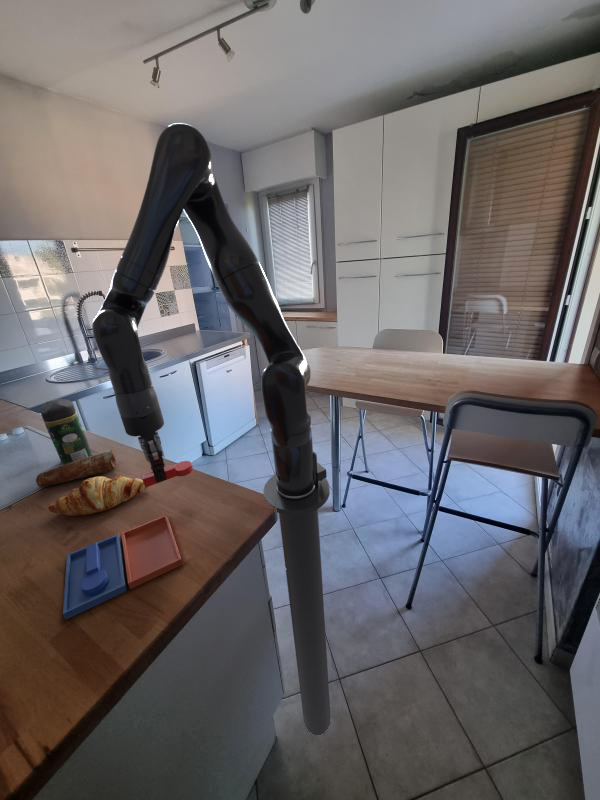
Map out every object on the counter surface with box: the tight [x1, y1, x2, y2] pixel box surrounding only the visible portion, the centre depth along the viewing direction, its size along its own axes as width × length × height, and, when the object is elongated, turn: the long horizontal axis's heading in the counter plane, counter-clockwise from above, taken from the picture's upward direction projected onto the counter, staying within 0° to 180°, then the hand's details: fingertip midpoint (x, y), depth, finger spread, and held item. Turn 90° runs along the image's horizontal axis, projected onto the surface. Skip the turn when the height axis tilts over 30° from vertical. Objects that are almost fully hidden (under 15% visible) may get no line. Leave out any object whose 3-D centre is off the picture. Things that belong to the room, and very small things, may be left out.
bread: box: [35, 449, 117, 488], centre depth 90 cm, size 6×19×6 cm, turn 112°
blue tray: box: [62, 533, 128, 620], centre depth 61 cm, size 9×14×1 cm, turn 31°
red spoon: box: [140, 460, 194, 488], centre depth 75 cm, size 11×4×2 cm, turn 122°
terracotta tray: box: [121, 514, 184, 590], centre depth 65 cm, size 9×14×1 cm, turn 31°
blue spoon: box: [80, 541, 109, 596], centre depth 60 cm, size 11×4×2 cm, turn 31°
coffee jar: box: [40, 397, 93, 465], centre depth 95 cm, size 10×8×19 cm
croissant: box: [47, 474, 149, 517], centre depth 79 cm, size 21×10×8 cm, turn 113°
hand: (160, 478), depth 75 cm, fingers closed on red spoon, 2 cm apart
